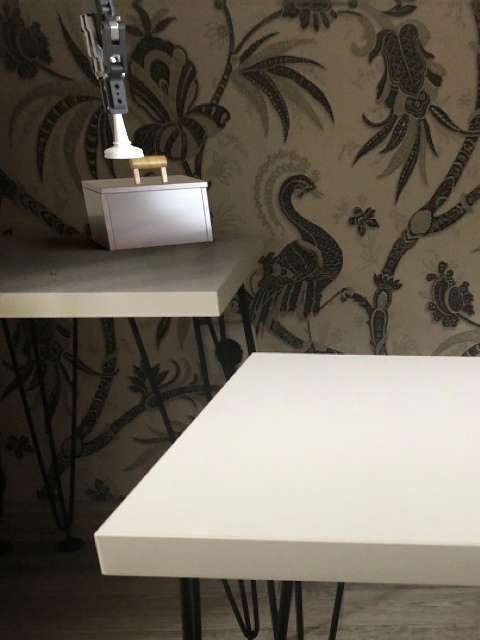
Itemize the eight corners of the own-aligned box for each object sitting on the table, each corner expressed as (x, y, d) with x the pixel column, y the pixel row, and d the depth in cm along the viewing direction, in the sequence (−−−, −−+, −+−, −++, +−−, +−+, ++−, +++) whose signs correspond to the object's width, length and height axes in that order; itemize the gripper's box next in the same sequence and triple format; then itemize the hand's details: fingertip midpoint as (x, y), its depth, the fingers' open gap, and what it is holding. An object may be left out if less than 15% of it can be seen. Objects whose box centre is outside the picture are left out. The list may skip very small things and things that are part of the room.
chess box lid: (208, 187, 137) (204, 154, 134) (101, 194, 130) (95, 160, 128) (183, 180, 146) (178, 149, 144) (82, 186, 139) (76, 154, 137)
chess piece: (112, 154, 121) (97, 67, 116) (149, 154, 121) (135, 67, 116) (98, 158, 117) (82, 68, 112) (136, 158, 117) (121, 68, 112)
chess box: (214, 248, 142) (206, 187, 137) (112, 258, 135) (100, 194, 130) (191, 239, 150) (183, 180, 146) (94, 248, 143) (82, 186, 139)
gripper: (43, -48, 111) (75, 113, 120) (66, -61, 101) (98, 116, 110) (106, -46, 115) (133, 111, 123) (134, -58, 104) (161, 114, 113)
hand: (116, 112), depth 116 cm, fingers closed on chess piece
